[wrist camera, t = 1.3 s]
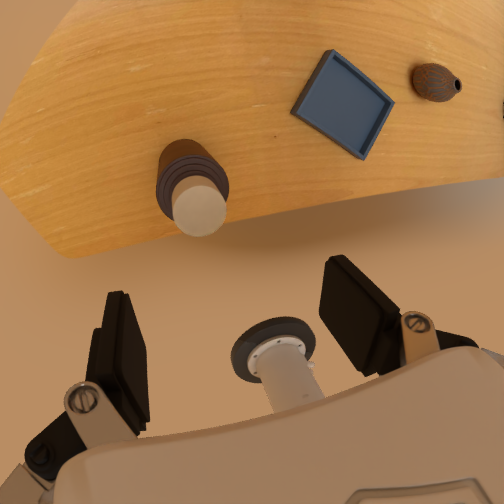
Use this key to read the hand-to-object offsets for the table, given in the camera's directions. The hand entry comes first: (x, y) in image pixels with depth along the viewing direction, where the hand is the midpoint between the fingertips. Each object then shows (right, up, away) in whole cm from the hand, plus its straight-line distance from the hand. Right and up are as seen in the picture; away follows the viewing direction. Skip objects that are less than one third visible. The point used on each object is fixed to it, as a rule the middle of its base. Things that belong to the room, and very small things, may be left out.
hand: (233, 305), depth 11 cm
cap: (-4, +6, +12) cm, 14 cm away
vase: (+30, +32, +27) cm, 51 cm away
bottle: (-8, +13, +24) cm, 29 cm away
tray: (+14, +23, +26) cm, 38 cm away
